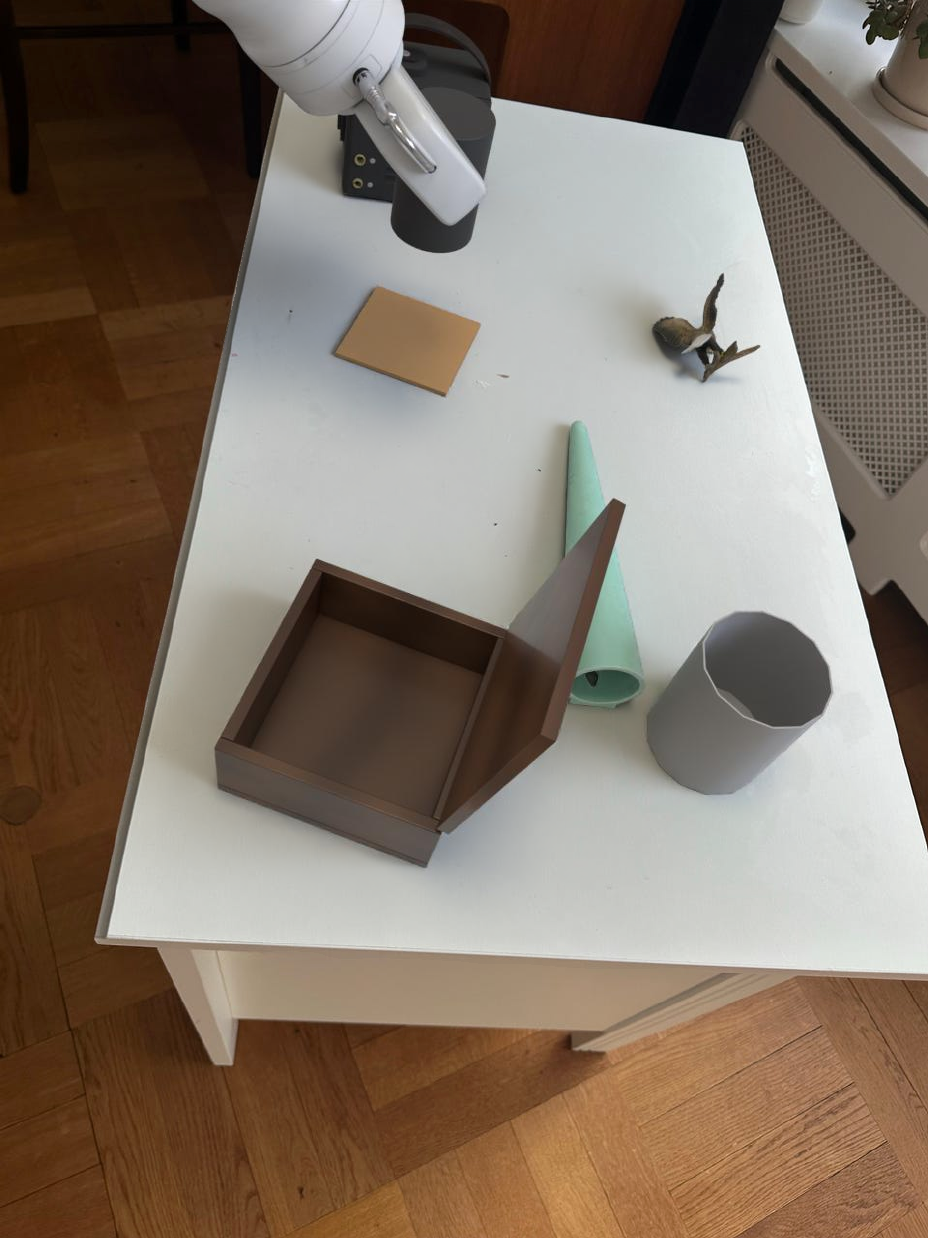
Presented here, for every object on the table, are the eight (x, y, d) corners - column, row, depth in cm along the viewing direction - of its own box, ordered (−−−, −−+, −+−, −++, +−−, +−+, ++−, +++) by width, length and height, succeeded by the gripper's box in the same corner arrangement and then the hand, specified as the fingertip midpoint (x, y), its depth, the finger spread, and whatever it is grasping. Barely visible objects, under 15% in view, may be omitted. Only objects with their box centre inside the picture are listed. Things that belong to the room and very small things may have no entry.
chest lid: (540, 734, 40) (556, 741, 40) (613, 496, 48) (626, 504, 48) (436, 829, 52) (448, 835, 52) (509, 625, 60) (520, 630, 60)
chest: (217, 788, 57) (213, 748, 52) (312, 606, 65) (316, 557, 61) (426, 868, 57) (441, 835, 52) (494, 675, 65) (513, 631, 60)
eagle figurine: (761, 368, 87) (725, 290, 90) (760, 329, 80) (721, 247, 83) (683, 402, 89) (649, 325, 91) (675, 367, 82) (639, 285, 85)
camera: (335, 135, 97) (345, -26, 85) (467, 153, 100) (496, 0, 87) (333, 198, 91) (345, 36, 79) (474, 215, 94) (506, 61, 81)
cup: (734, 818, 62) (806, 755, 54) (627, 750, 64) (681, 679, 56) (777, 726, 67) (849, 656, 59) (676, 665, 68) (733, 587, 60)
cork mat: (334, 355, 79) (335, 352, 79) (376, 288, 85) (377, 285, 85) (445, 396, 79) (446, 393, 79) (480, 326, 85) (481, 323, 84)
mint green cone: (626, 385, 76) (656, 672, 61) (605, 433, 80) (629, 711, 65) (561, 375, 75) (576, 663, 60) (544, 423, 80) (554, 703, 65)
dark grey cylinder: (410, 258, 70) (427, 142, 62) (377, 205, 73) (391, 89, 65) (485, 248, 72) (511, 135, 65) (451, 197, 75) (472, 84, 68)
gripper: (438, 88, 52) (546, 225, 63) (309, -89, 60) (425, 60, 72) (355, 171, 54) (475, 289, 65) (242, -12, 62) (365, 121, 74)
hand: (448, 167), depth 69 cm, fingers closed on dark grey cylinder, 6 cm apart
